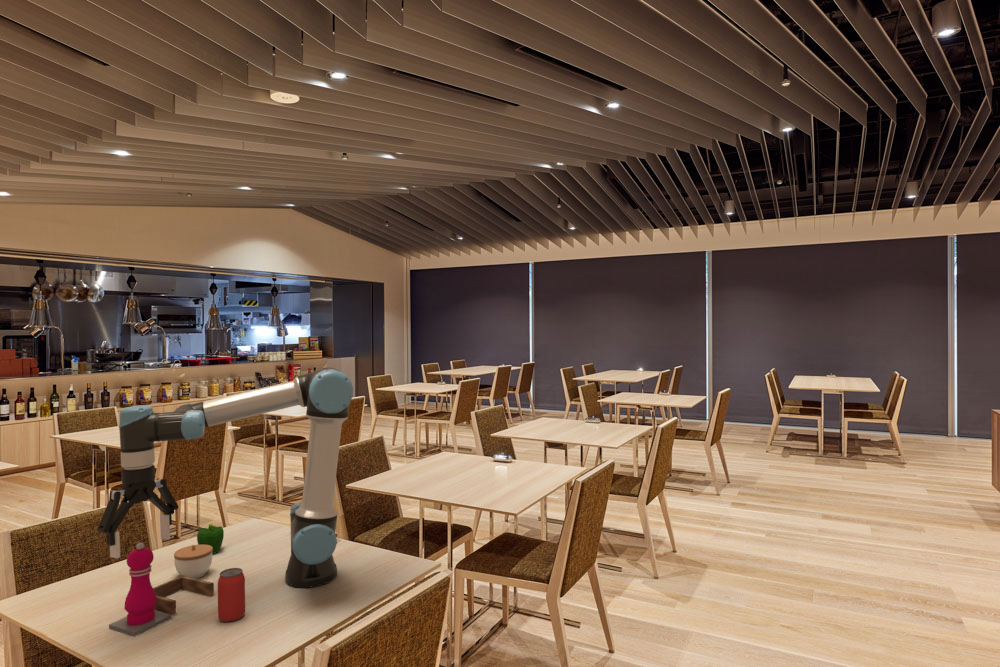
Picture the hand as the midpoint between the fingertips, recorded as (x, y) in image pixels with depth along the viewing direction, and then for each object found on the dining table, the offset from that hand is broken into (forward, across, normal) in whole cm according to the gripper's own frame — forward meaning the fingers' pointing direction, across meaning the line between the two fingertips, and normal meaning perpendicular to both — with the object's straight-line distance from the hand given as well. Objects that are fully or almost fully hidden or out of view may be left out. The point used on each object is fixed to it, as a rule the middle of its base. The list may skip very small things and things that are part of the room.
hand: (141, 547), depth 156 cm
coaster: (+20, +1, -1) cm, 20 cm away
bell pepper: (+20, -42, -27) cm, 54 cm away
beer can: (+20, -11, +18) cm, 30 cm away
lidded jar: (+20, -26, -15) cm, 36 cm away
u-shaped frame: (+20, -12, -4) cm, 24 cm away
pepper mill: (+19, 0, -1) cm, 19 cm away
